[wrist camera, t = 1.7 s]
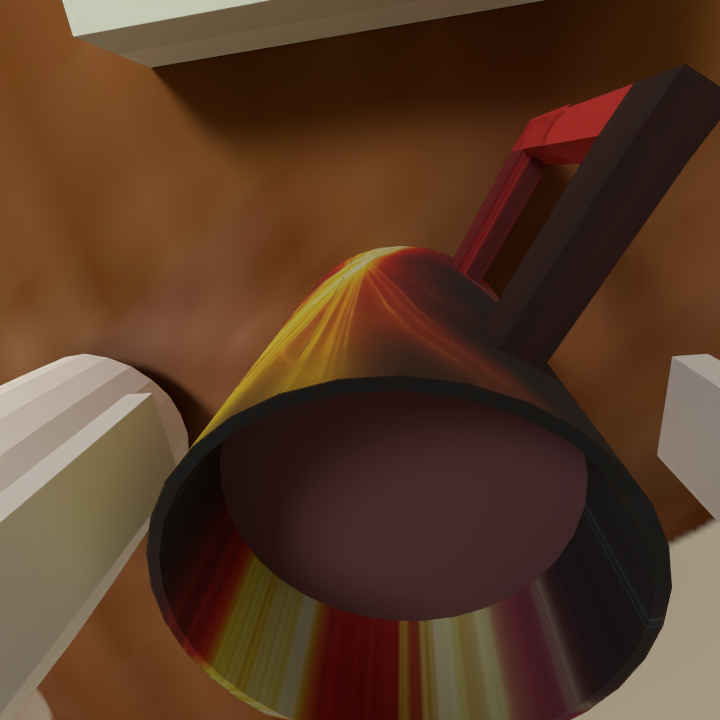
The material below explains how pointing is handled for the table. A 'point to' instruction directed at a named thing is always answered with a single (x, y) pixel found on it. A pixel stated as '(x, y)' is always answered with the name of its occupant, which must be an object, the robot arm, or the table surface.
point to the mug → (437, 464)
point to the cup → (52, 429)
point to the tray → (242, 23)
